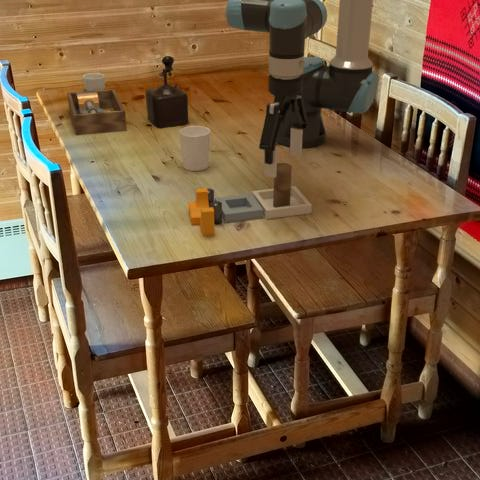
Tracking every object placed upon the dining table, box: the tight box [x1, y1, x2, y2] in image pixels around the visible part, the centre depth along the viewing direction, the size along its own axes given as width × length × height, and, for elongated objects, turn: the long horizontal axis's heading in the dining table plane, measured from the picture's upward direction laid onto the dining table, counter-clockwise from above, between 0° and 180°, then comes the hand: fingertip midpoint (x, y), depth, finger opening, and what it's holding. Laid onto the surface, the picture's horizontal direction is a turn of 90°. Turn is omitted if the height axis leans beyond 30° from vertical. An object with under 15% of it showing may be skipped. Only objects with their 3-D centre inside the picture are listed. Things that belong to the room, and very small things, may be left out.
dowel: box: [273, 162, 293, 208], centre depth 169 cm, size 4×4×10 cm
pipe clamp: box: [187, 187, 215, 237], centre depth 162 cm, size 12×4×6 cm, turn 10°
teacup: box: [82, 72, 106, 91], centre depth 252 cm, size 10×8×5 cm
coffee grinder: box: [145, 55, 190, 129], centre depth 223 cm, size 16×11×18 cm
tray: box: [251, 185, 313, 220], centre depth 171 cm, size 11×11×3 cm
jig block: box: [214, 193, 264, 224], centre depth 168 cm, size 9×9×2 cm
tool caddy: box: [66, 88, 128, 136], centre depth 224 cm, size 15×23×6 cm, turn 17°
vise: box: [76, 92, 111, 114], centre depth 224 cm, size 18×10×7 cm, turn 18°
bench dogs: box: [207, 188, 223, 225], centre depth 166 cm, size 3×10×5 cm, turn 16°
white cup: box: [179, 125, 211, 172], centre depth 191 cm, size 8×8×10 cm
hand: (283, 165), depth 167 cm, fingers open, 13 cm apart
